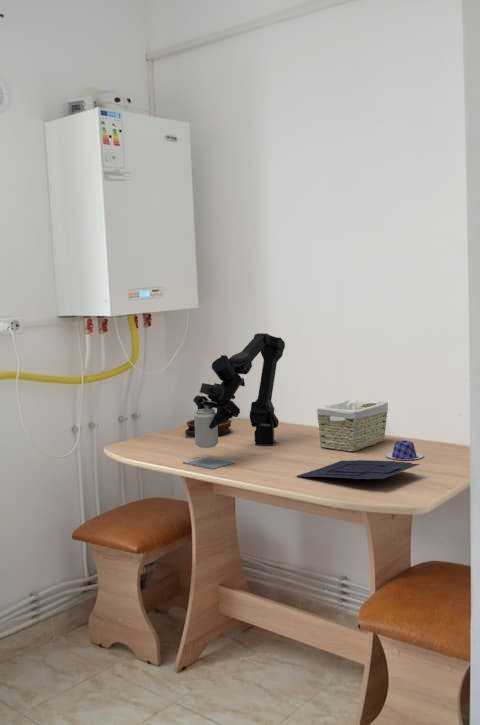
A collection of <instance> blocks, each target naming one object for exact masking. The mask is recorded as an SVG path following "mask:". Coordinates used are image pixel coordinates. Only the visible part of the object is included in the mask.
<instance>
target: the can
mask: <svg viewBox="0 0 480 725" xmlns="http://www.w3.org/2000/svg"><path fill="white" fill-rule="evenodd" d="M215 411H216V410H215V408H212V409H199V410H198V409H196V411H195V414H194V415H193V416H194V418H193V420H194V423H195V436H194V439H195V440H194V443H195V445H196V446H197V447H198V448H202V449H203V448H204V449H208V448H210V449H211V448H214V447H216V446H217V445H218V444H219V435H218V425H217V426H216V427H214V428H213V429H210V428H209V426H210V424H211V422H212V420H213V418H214V417H215V415H216V413H217V412H215Z"/></svg>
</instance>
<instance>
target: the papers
mask: <svg viewBox="0 0 480 725" xmlns="http://www.w3.org/2000/svg"><path fill="white" fill-rule="evenodd" d="M419 465H420V463H412V462H404V461H395V460H370V459H369V460H365V459H364V460H363V459H357V460H351V459H349V460H339V461H337V462H334V463H331V464H328V465H326V466H325V465H324V466H323V467H320V468H317V469H313V470H310V471H307V472H305V473H302V474H299V475H297V477H310V478H311V477H312V478H314V477H317V478H318V477H319V478H320V477H321V478H336V479H337V478H339V479H347V480H349V479H352V480H361V479H362V480H372V479H374V480H375V479H380V480H381V479H382V480H383V479H386V478H388V477H391V476H393V475H394V476H395V475H396V474H399V473H401V472H404V471H406V470H409V469H411V468H414V467H417V466H419Z"/></svg>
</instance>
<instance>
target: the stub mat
mask: <svg viewBox="0 0 480 725" xmlns="http://www.w3.org/2000/svg"><path fill="white" fill-rule="evenodd" d="M235 463H236V462H235V461H232V460H226V459H222V458H216V457H211V456H206V455H204V456H200V457H196V458H192V459H190V460H184V461H183V462H182V464H185V465H190V466H194V467H195V466H196V467H199V468H203V469H204V468H205V469H209V470H216V469H219V468H223V467H227V466H229V465H233V464H235Z"/></svg>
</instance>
